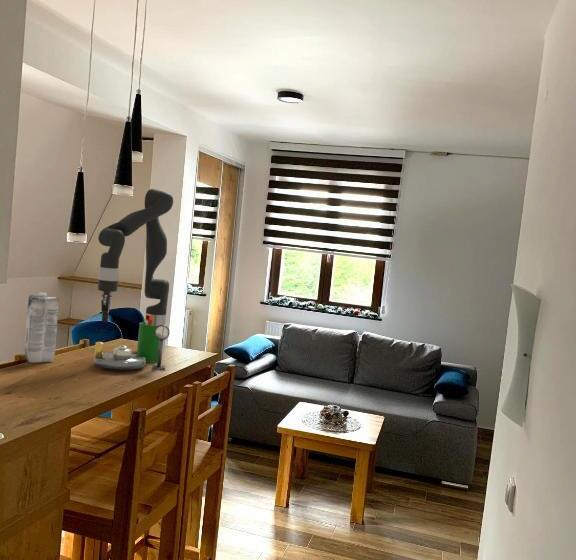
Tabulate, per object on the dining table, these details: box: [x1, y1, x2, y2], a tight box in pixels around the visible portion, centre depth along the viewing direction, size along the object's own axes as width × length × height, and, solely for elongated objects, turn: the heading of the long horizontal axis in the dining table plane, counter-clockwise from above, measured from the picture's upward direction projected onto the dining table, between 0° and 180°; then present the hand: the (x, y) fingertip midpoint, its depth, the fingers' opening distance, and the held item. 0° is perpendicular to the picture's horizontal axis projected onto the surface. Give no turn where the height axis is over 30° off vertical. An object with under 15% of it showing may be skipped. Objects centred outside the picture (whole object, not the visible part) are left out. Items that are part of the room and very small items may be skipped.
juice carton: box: [24, 292, 59, 364], centre depth 246 cm, size 9×10×27 cm
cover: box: [113, 345, 133, 360], centre depth 249 cm, size 7×7×5 cm
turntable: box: [93, 341, 147, 370], centre depth 249 cm, size 20×20×8 cm
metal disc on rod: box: [151, 324, 171, 371], centre depth 254 cm, size 5×6×18 cm
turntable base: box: [107, 368, 129, 371], centre depth 249 cm, size 10×10×1 cm
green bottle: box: [136, 314, 159, 363], centre depth 267 cm, size 10×9×20 cm
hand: (104, 321), depth 251 cm, fingers closed
